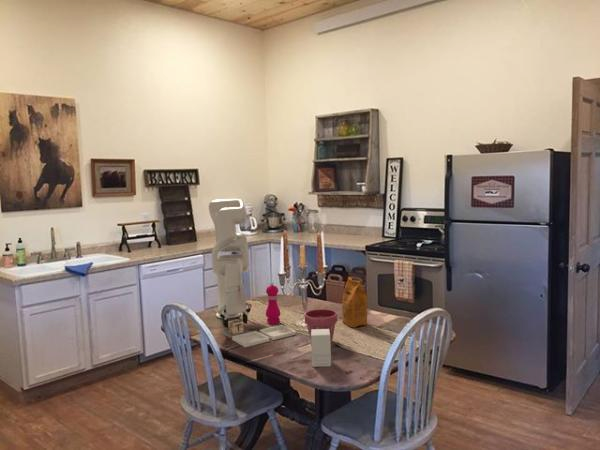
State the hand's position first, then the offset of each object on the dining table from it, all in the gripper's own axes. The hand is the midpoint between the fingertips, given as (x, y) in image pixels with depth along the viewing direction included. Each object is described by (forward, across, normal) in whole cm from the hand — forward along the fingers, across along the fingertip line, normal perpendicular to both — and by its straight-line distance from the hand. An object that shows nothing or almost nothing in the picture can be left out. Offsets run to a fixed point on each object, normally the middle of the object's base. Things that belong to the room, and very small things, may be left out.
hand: (235, 325), depth 238 cm
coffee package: (+4, -51, +24) cm, 57 cm away
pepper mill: (+4, -22, -3) cm, 23 cm away
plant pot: (+4, -24, +34) cm, 42 cm away
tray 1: (+4, 0, +14) cm, 15 cm away
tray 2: (+4, -14, +14) cm, 20 cm away
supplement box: (+4, -10, +53) cm, 54 cm away
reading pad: (+4, 0, 0) cm, 4 cm away
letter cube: (+3, 0, 0) cm, 3 cm away
